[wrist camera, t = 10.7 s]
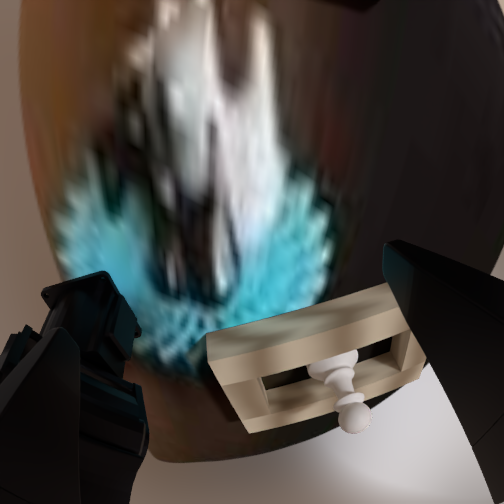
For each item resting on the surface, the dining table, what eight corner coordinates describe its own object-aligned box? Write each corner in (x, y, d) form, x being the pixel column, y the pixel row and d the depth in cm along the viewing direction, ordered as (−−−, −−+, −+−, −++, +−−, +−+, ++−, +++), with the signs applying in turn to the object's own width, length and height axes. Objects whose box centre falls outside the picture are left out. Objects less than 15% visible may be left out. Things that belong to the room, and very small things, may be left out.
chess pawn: (361, 335, 28) (400, 411, 21) (337, 368, 30) (366, 440, 23) (317, 332, 27) (351, 418, 19) (295, 367, 29) (319, 447, 22)
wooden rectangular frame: (245, 411, 32) (249, 433, 30) (206, 333, 25) (207, 361, 22) (408, 359, 33) (418, 378, 30) (427, 268, 25) (445, 288, 22)
